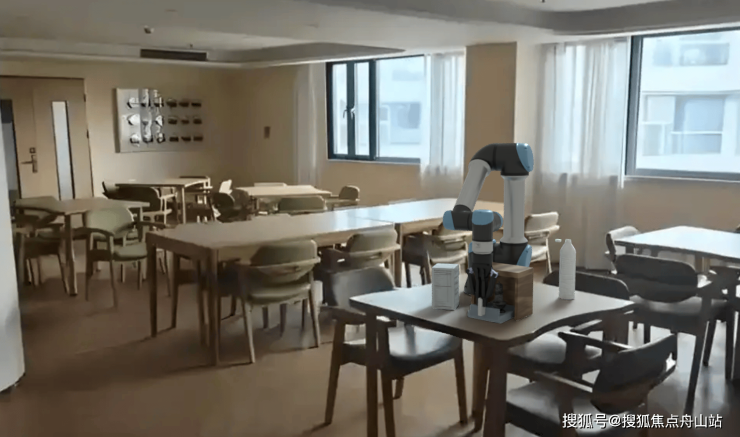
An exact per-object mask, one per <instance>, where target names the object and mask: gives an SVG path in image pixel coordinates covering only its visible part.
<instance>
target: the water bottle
mask: <svg viewBox="0 0 740 437" xmlns="http://www.w3.org/2000/svg"><path fill="white" fill-rule="evenodd" d="M554 241H555V243H561V242H562V239H559V238H555V239H554ZM572 243H573V242H572V239H571V238H565V241H564V243H563V244H562V246H561V248H560V249H559V267H558V268H559V269H558V270H559V271H558V272H559V274H558V282H559V283H558V299H560V298H561V300H565V301H566V300H567V301H568V300H569V301H571V300H575V298H576V295H575V294H576V293H575V292H576V262H577V260H576V258H577V250H576V248H575V247H574V245H573V244H572Z"/></svg>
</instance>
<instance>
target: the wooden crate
mask: <svg viewBox="0 0 740 437" xmlns="http://www.w3.org/2000/svg"><path fill="white" fill-rule="evenodd" d="M492 266H493V270H494V271H495V272H498V273H499V275H498V277H497V278H496V282H495V285H496V284H497V283H499V281H500V283H501V284H502V285H503V292H504V293H503V300H504V301H506V302H507V303H506V304H507V305H513V306H515V317H514V318H513V319H514V321H516V320H517V321H520V320H522V319H525V318H526V316H527V317H529V316H531V315H533V314H534V311H533V307H534V273H535V272H534V267H530V266H529V267H525V266H517V265H510V264H503V263H495V262H492ZM473 273H474V272H473ZM490 275H491V274H490ZM490 275H489V279H488V285H489V281H490V278H491V276H490ZM474 276H475V273H474ZM475 281H476V279H475ZM494 292H495V286H494V291H493V295H492V296H491V297H489V298H487V303H488V302H491V301H494V299H495V293H494ZM470 296H471V298H470V304H475V305H476V296H474V295H472V294H471V295H470ZM481 297H482V296H481Z"/></svg>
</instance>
